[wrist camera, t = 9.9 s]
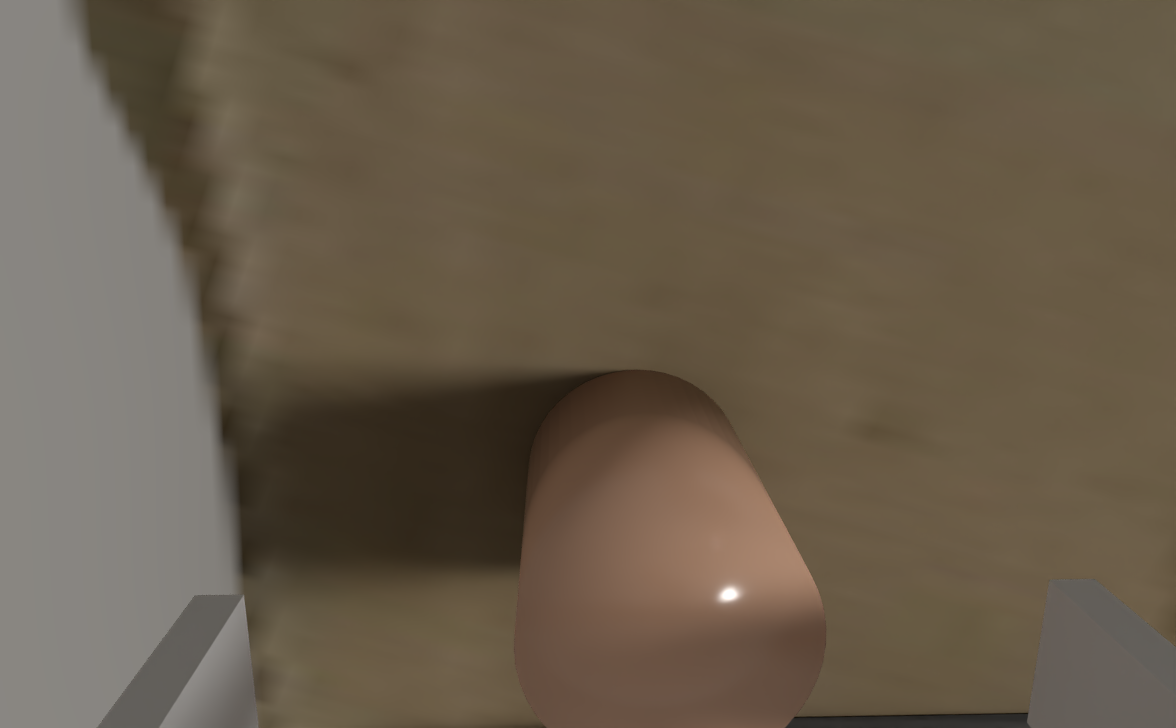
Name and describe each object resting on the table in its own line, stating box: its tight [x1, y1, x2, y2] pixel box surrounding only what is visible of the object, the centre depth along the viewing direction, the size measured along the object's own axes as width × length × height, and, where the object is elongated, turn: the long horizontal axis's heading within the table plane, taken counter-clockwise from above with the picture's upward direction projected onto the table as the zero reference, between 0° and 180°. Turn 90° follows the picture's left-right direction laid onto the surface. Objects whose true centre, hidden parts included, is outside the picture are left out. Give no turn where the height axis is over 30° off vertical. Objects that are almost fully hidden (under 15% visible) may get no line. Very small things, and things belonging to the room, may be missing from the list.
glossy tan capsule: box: [514, 370, 826, 728], centre depth 18 cm, size 5×5×7 cm
